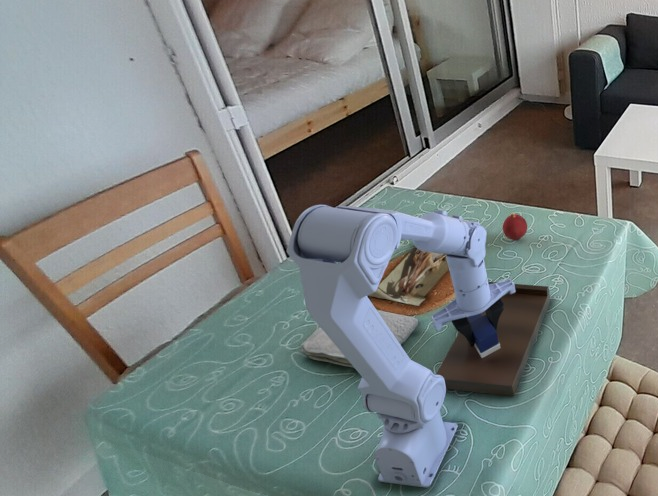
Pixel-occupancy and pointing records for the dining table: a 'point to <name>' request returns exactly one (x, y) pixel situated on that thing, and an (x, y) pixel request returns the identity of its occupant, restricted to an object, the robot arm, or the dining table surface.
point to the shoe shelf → (515, 341)
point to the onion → (514, 227)
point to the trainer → (483, 335)
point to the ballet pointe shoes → (413, 277)
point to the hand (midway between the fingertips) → (482, 336)
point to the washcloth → (326, 350)
